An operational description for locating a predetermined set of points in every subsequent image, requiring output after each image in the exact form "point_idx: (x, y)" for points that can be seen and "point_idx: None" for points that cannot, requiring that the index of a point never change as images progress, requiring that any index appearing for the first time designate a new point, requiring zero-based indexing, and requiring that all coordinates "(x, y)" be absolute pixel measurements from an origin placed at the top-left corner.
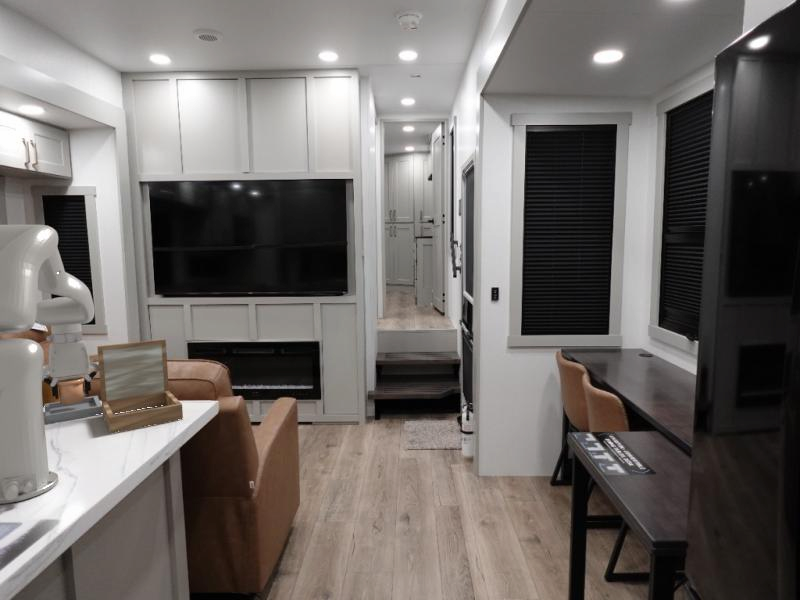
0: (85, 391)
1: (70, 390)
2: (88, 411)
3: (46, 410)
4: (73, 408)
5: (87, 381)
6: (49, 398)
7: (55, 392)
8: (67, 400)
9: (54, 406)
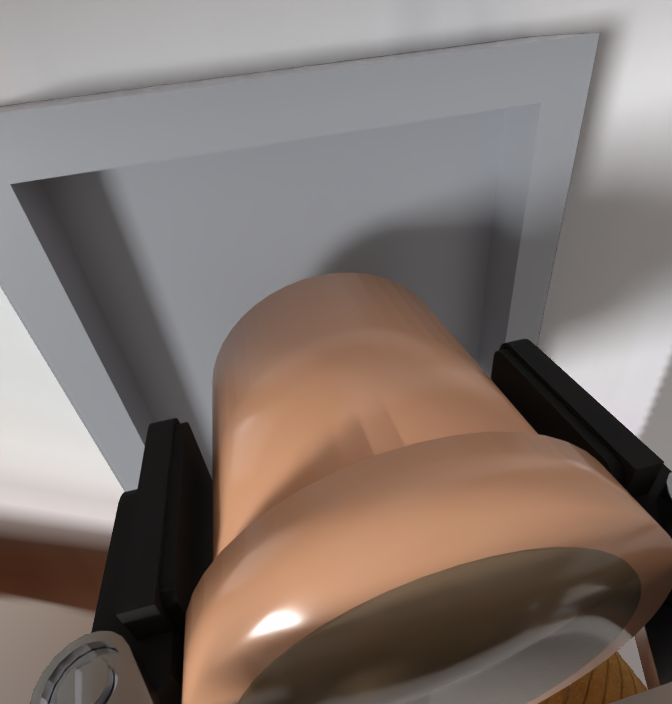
0: (205, 484)
1: (403, 382)
2: (118, 95)
3: (540, 275)
4: None
5: (134, 632)
6: None
7: (582, 392)
8: (397, 300)
9: None
